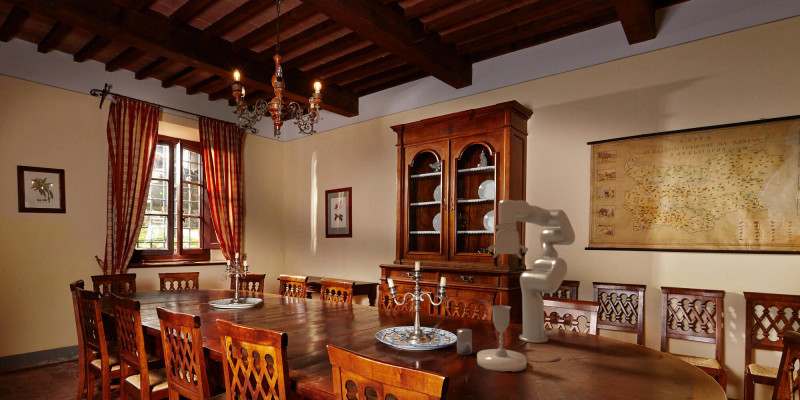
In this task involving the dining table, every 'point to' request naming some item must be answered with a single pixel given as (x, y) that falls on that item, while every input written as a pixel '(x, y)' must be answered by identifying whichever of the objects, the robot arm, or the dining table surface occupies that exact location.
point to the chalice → (501, 326)
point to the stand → (501, 360)
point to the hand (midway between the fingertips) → (507, 267)
